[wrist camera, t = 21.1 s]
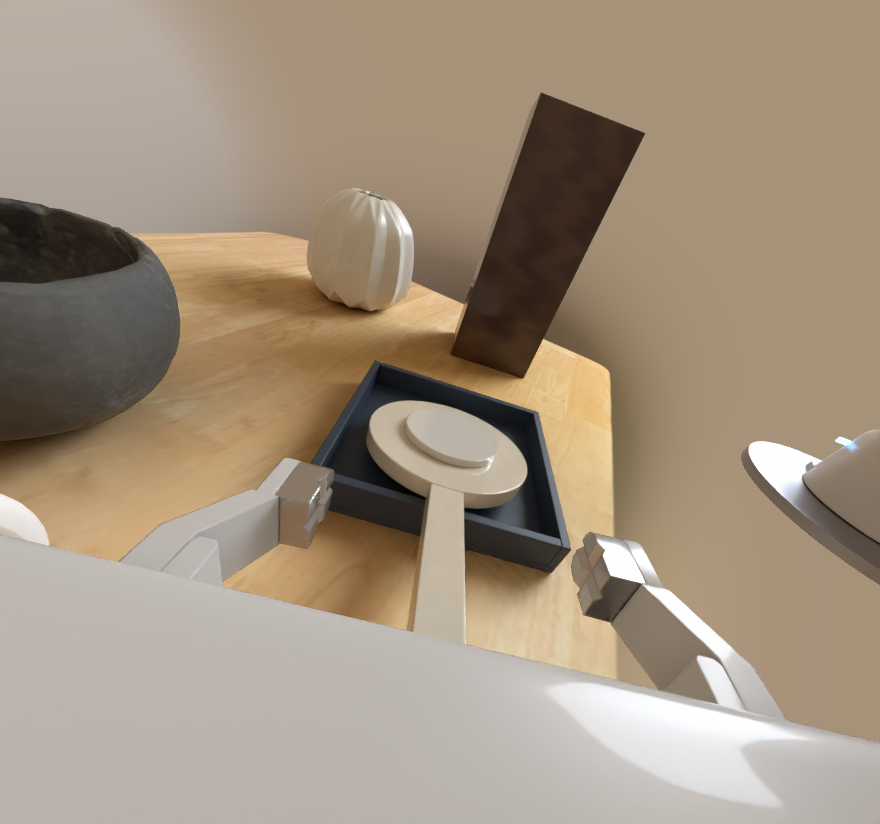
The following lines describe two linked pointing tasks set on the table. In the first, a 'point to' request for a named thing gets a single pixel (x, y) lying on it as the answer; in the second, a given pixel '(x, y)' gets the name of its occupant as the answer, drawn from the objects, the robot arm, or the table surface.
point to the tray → (390, 504)
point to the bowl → (77, 321)
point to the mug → (20, 522)
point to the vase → (361, 250)
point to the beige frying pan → (443, 496)
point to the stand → (541, 231)
